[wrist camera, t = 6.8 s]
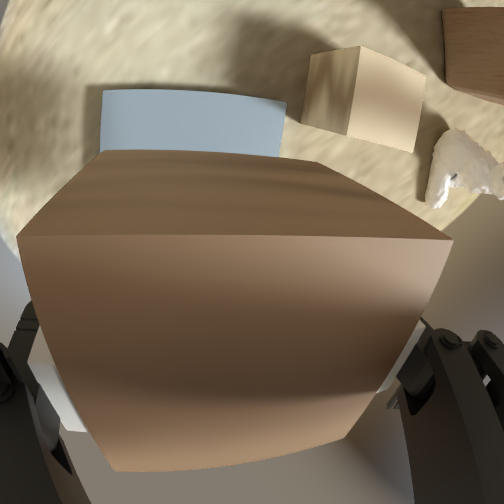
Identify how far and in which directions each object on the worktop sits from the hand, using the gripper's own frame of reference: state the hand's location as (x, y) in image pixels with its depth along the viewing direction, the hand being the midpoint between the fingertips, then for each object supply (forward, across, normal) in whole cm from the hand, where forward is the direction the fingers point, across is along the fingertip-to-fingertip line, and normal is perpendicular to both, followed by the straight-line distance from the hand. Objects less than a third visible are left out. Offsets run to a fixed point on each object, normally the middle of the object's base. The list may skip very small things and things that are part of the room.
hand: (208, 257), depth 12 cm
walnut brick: (0, 0, 0) cm, 0 cm away
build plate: (+12, 0, 0) cm, 12 cm away
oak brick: (+13, +12, +8) cm, 19 cm away
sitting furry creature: (+13, +28, +5) cm, 31 cm away
